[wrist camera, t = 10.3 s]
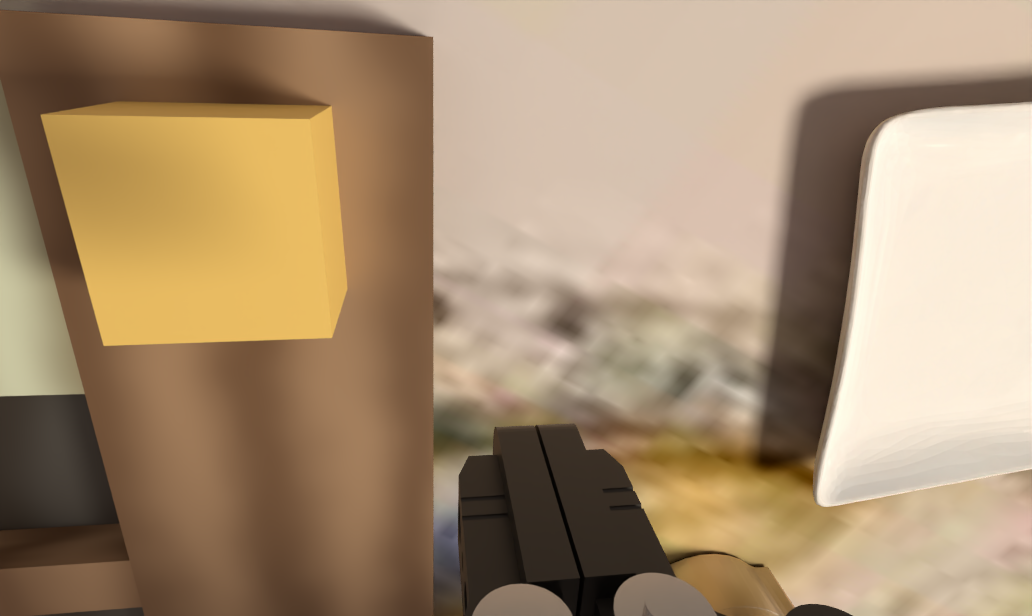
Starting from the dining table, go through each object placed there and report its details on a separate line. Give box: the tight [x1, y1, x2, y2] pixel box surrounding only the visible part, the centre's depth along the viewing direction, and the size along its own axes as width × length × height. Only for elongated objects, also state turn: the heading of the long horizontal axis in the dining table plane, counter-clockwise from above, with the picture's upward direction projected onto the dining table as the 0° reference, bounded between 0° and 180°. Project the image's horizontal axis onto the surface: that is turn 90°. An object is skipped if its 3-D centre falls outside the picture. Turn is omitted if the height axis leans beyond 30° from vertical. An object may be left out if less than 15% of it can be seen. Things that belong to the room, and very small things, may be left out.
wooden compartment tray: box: [0, 10, 433, 616], centre depth 27 cm, size 26×36×3 cm
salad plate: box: [813, 102, 1032, 507], centre depth 31 cm, size 21×21×3 cm
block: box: [41, 101, 347, 346], centre depth 20 cm, size 7×7×4 cm
